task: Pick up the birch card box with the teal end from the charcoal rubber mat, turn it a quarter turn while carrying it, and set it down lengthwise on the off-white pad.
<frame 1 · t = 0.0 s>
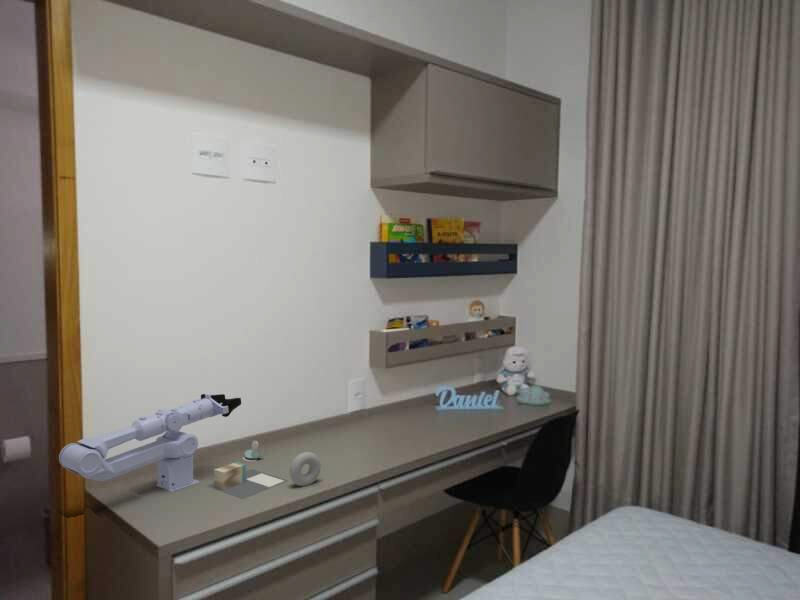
hand: (232, 399, 187), 22 cm above the table, tool horizontal, fingers open, 7 cm apart
pacifier: (252, 460, 195), on the table
donut: (305, 486, 173), on the table
card box: (230, 483, 172), point 1 cm above the table, touching mat
mat: (247, 485, 173), on the table
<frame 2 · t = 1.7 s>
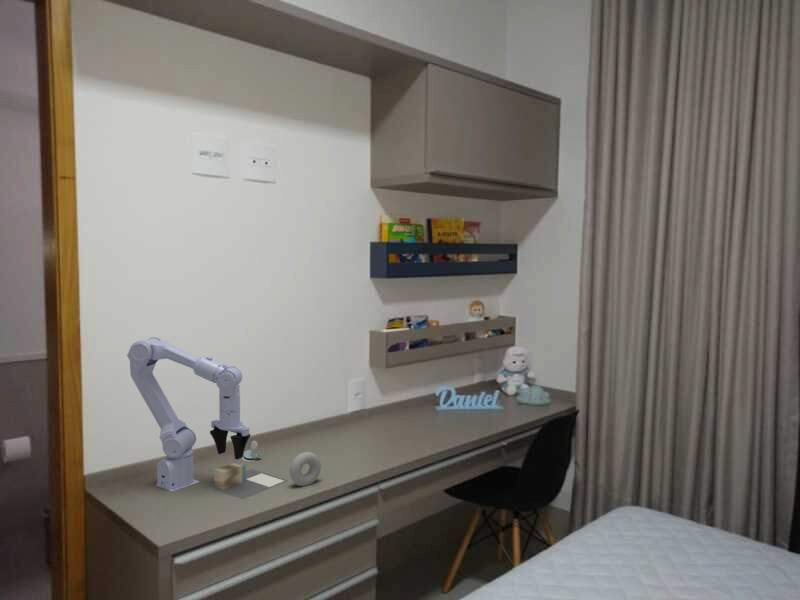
hand: (230, 455, 171), 9 cm above the table, tool pointing down, fingers open, 7 cm apart
nothing on the table moved.
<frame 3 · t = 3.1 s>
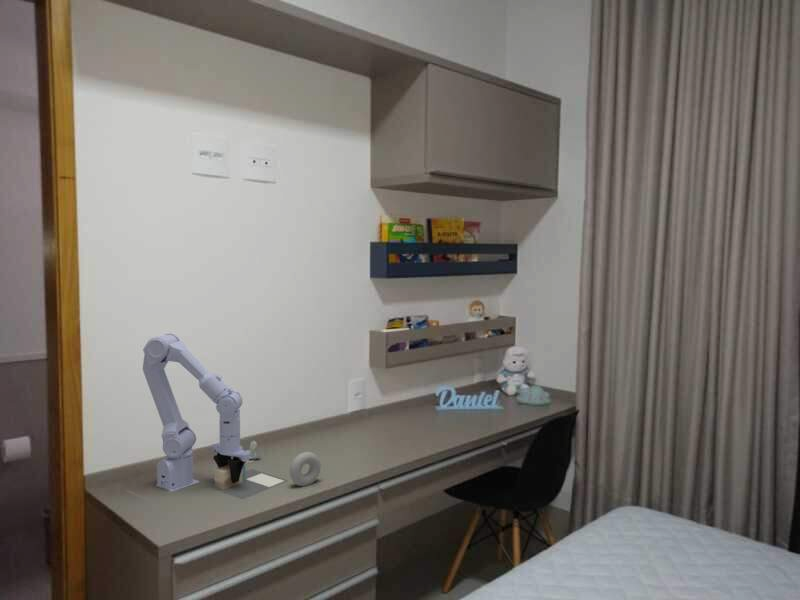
hand: (230, 480, 172), 2 cm above the table, tool pointing down, fingers closed on card box, 4 cm apart
card box: (230, 483, 172), point 1 cm above the table, touching gripper, mat
everything else where it was.
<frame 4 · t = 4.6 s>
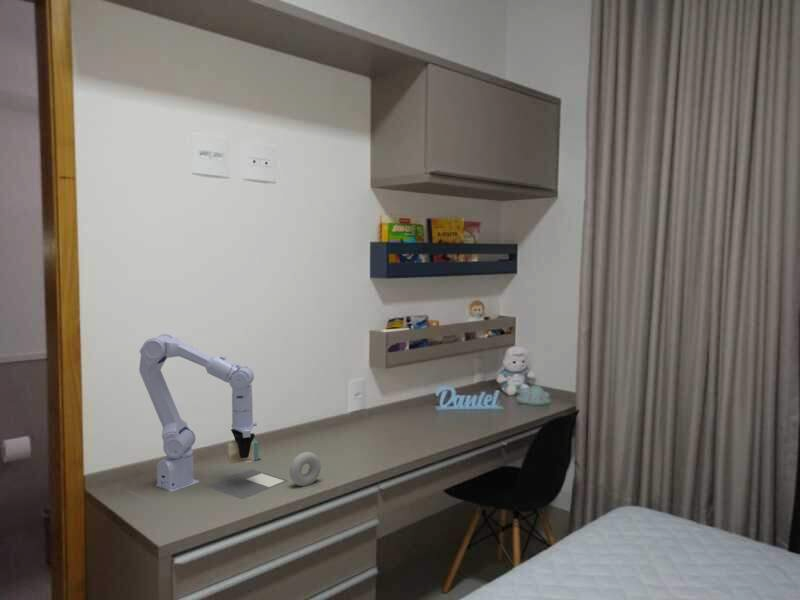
hand: (243, 455, 172), 9 cm above the table, tool pointing down, fingers closed on card box, 4 cm apart
card box: (243, 459, 172), point 8 cm above the table, touching gripper
everything else where it was.
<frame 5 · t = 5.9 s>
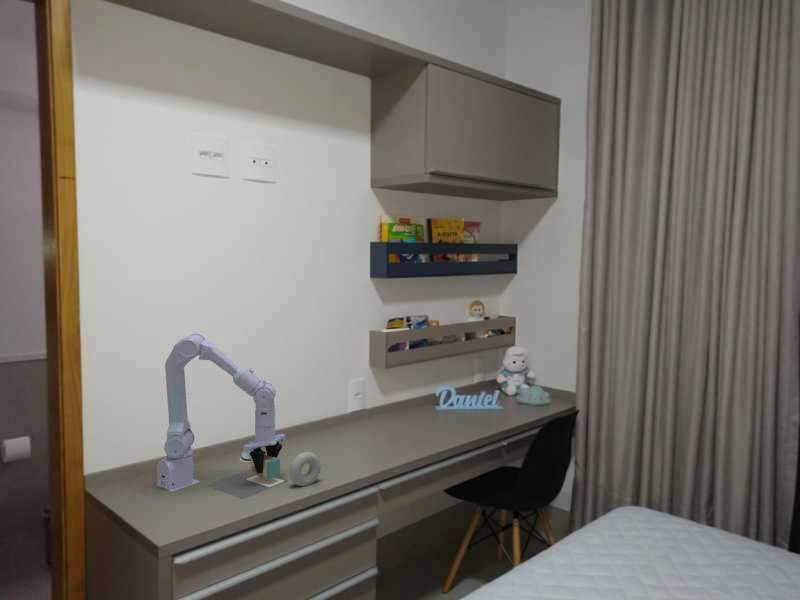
hand: (265, 470, 175), 4 cm above the table, tool pointing down, fingers closed on card box, 4 cm apart
card box: (265, 474, 175), point 2 cm above the table, touching gripper
when the fingers open (3 cm above the table, at t = 6.5 s): card box stays where it is, resting on mat.
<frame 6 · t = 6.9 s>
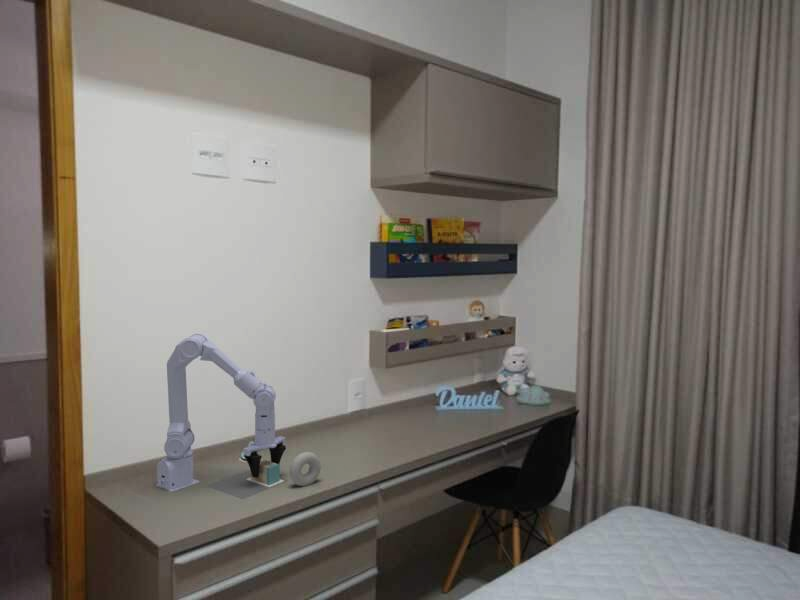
hand: (265, 473, 175), 3 cm above the table, tool pointing down, fingers open, 7 cm apart
card box: (265, 480, 175), point 1 cm above the table, touching mat
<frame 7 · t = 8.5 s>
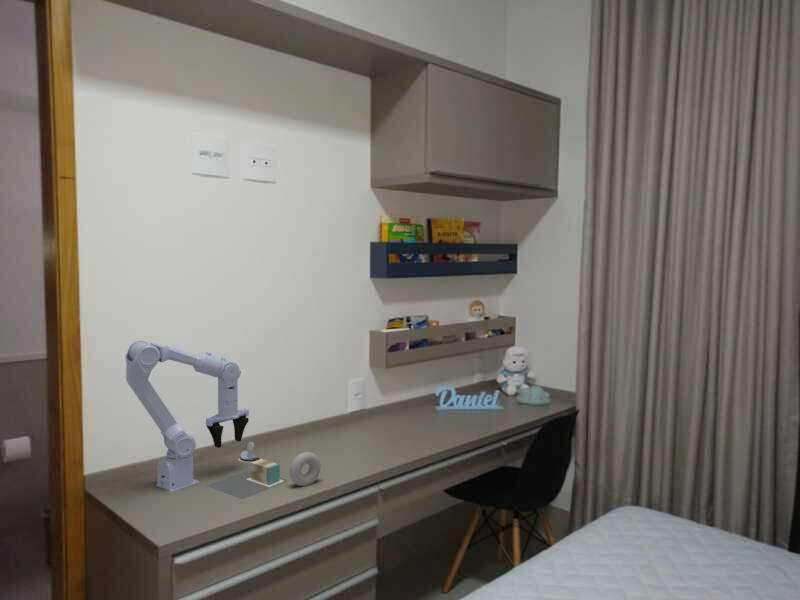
hand: (228, 443, 181), 9 cm above the table, tool pointing down, fingers open, 7 cm apart
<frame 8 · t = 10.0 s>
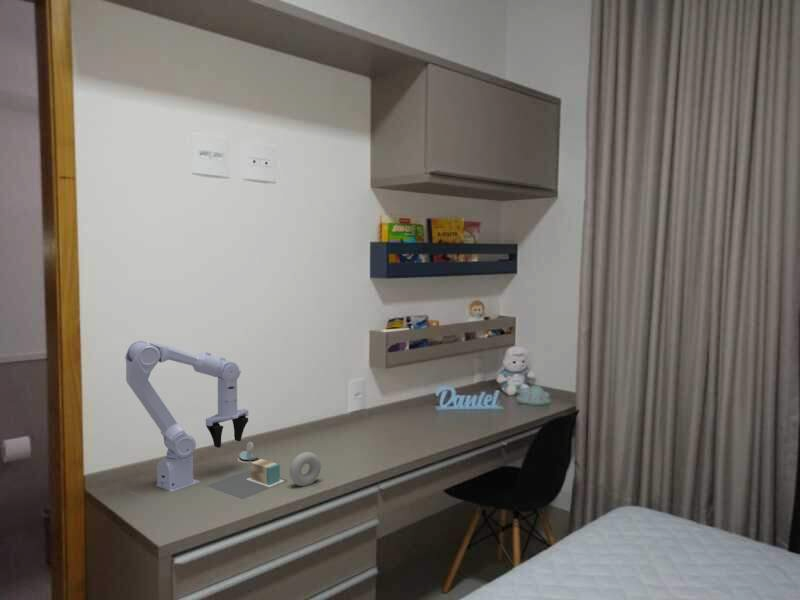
hand: (227, 443, 181), 9 cm above the table, tool pointing down, fingers open, 7 cm apart
at the end: card box 0.0 cm from the target spot on the mat, point 0.7 cm above the mat's base; card box tilted 0°; the gripper is holding nothing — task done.
